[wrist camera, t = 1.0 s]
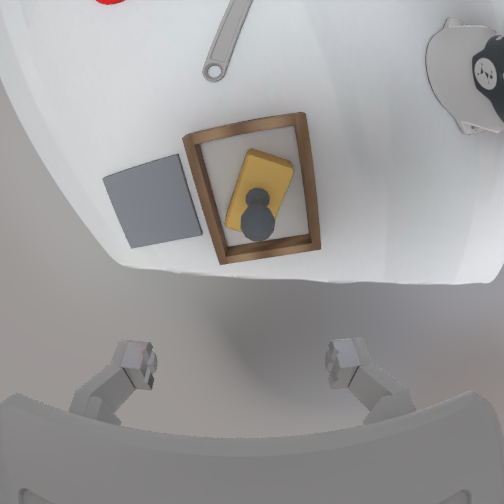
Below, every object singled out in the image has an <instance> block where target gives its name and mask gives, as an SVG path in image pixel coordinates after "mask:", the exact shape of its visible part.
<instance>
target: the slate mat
mask: <svg viewBox="0 0 504 504" xmlns="http://www.w3.org/2000/svg"><path fill="white" fill-rule="evenodd" d="M103 182H104V184H105V187H106V190H107V192H108V195H109V198H110V200H111V203H112V205H113V208H114V210H115V212H116V215H117V217H118V220H119V222H120V224H121V227H122V229H123V231H124V233H125V236H126V238H127V240H128V242H129V245H130V247H131V249H132V248H137V247H142V246H147V245H152V244H158V243H163V242H168V241H173V240H179V239H184V238H190V237H195V236H200V235H202V234H203V233H202V230H201V227H200V224H199V220H198V217H197V214H196V211H195V208H194V205H193V201H192V198H191V195H190V192H189V188H188V185H187V182H186V178H185V175H184V172H183V168H182V165H181V161H180V158H179V155H178V154H176V155H172V156H169V157H165V158H162V159H159V160H155V161H152V162H149V163H145V164H142V165H139V166H136V167H133V168H130V169H127V170H124V171H121V172H118V173H115V174H112V175H110V176H107V177H104V178H103Z"/></svg>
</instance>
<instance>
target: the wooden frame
mask: <svg viewBox="0 0 504 504" xmlns="http://www.w3.org/2000/svg"><path fill="white" fill-rule="evenodd" d="M293 125H294V126H295V132H296V138H297V144H298V150H299V157H300V164H301V171H302V178H303V186H304V193H305V201H306V210H307V218H308V228H309V234H307V235H301V236H295V237H288V238H282V239H276V240H269V241H263V242H257V243H250V244H244V245H238V246H232V247H227V243H226V240H225V236H224V233H223V229H222V226H221V222H220V219H219V215H218V211H217V208H216V204H215V201H214V197H213V193H212V190H211V186H210V183H209V179H208V175H207V171H206V168H205V164H204V160H203V157H202V153H201V149H200V145H199V143H203V142H207V141H212V140H216V139H220V138H225V137H230V136H234V135H239V134H244V133H250V132H255V131H261V130H266V129H273V128H279V127H286V126H293ZM182 140H183V143H184V147H185V151H186V154H187V158H188V161H189V165H190V168H191V172H192V175H193V179H194V182H195V185H196V189H197V192H198V196H199V199H200V202H201V206H202V209H203V212H204V216H205V219H206V222H207V225H208V229H209V232H210V235H211V238H212V241H213V245H214V248H215V251H216V254H217V257H218V260H219V263H220V265H223V264H230V263H236V262H243V261H249V260H256V259H262V258H269V257H275V256H282V255H288V254H294V253H301V252H307V251H313V250H320V249H321V240H320V227H319V216H318V205H317V195H316V186H315V177H314V169H313V161H312V154H311V146H310V139H309V133H308V126H307V120H306V114H305V113H303V112H299V113H291V114H284V115H277V116H271V117H265V118H259V119H253V120H248V121H243V122H238V123H233V124H228V125H224V126H219V127H215V128H211V129H206V130H202V131H198V132H195V133H191V134H187V135H186V136H184V137H183V138H182Z"/></svg>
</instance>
